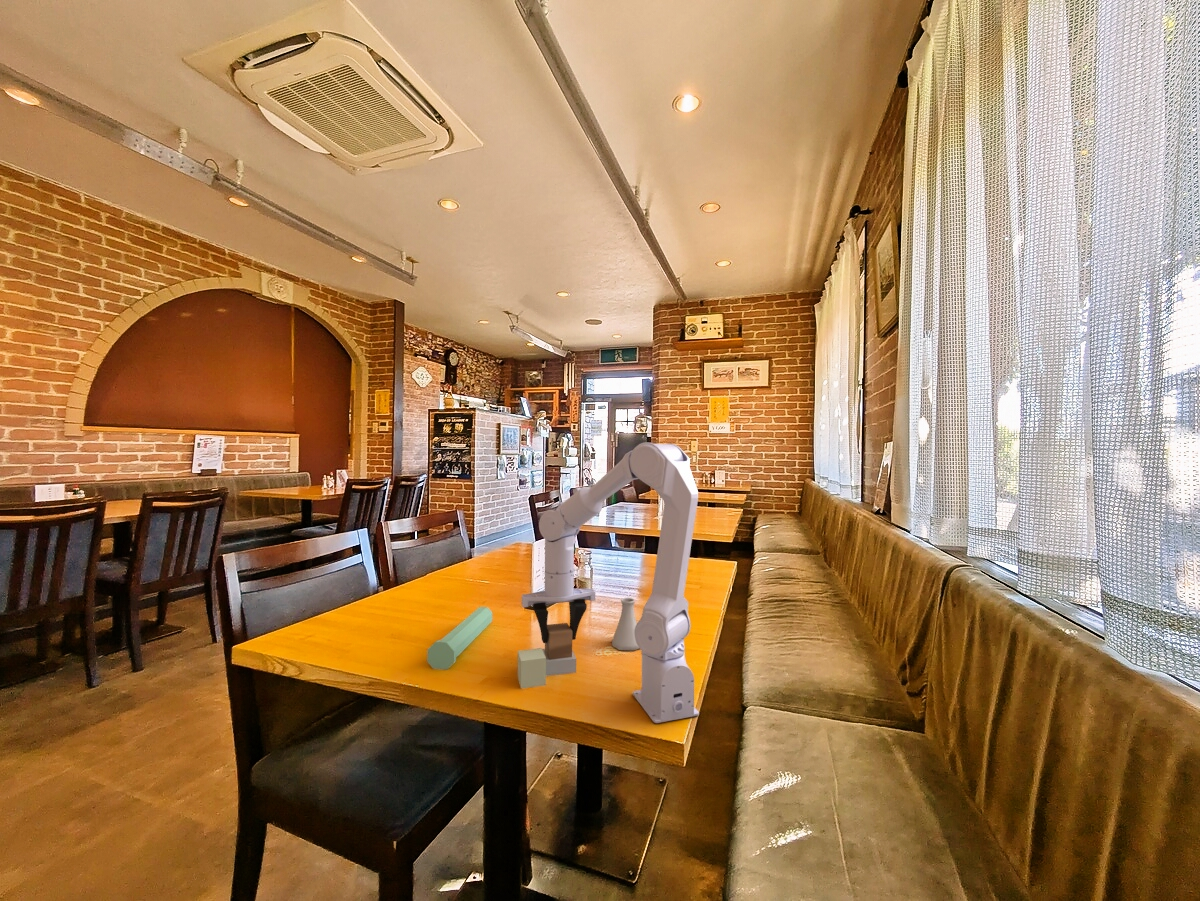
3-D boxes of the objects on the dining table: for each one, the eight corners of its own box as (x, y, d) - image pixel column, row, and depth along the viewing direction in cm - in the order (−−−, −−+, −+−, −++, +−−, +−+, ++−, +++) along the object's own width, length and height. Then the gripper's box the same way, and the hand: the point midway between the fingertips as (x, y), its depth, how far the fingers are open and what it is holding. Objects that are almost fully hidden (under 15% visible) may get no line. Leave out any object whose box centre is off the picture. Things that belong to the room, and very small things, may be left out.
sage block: (545, 685, 85) (546, 657, 85) (521, 689, 83) (521, 661, 83) (541, 674, 89) (541, 647, 89) (517, 677, 87) (517, 650, 87)
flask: (617, 653, 98) (617, 606, 98) (607, 640, 105) (607, 596, 105) (649, 649, 100) (649, 603, 100) (637, 637, 107) (637, 593, 107)
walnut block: (572, 656, 90) (572, 631, 90) (549, 659, 89) (549, 633, 89) (566, 647, 95) (567, 622, 95) (544, 649, 93) (545, 624, 93)
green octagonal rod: (479, 598, 115) (433, 635, 91) (500, 608, 115) (459, 649, 90) (470, 620, 116) (421, 663, 91) (491, 630, 115) (448, 676, 90)
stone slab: (576, 674, 89) (576, 658, 89) (545, 677, 88) (545, 661, 88) (570, 660, 95) (570, 646, 95) (541, 663, 94) (541, 648, 94)
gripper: (588, 563, 98) (588, 628, 98) (519, 568, 93) (518, 635, 93) (598, 571, 91) (598, 641, 91) (524, 577, 87) (524, 650, 87)
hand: (558, 639), depth 92 cm, fingers open, 5 cm apart
